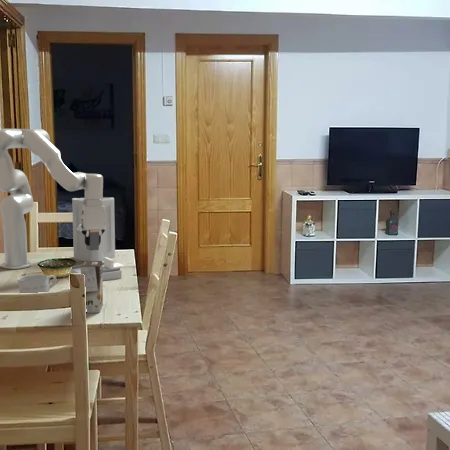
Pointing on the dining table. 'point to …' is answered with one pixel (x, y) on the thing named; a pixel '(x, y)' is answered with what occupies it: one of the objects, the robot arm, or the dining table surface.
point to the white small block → (111, 263)
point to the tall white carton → (106, 239)
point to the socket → (106, 272)
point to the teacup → (35, 283)
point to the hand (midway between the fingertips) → (92, 244)
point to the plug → (93, 240)
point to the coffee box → (93, 285)
